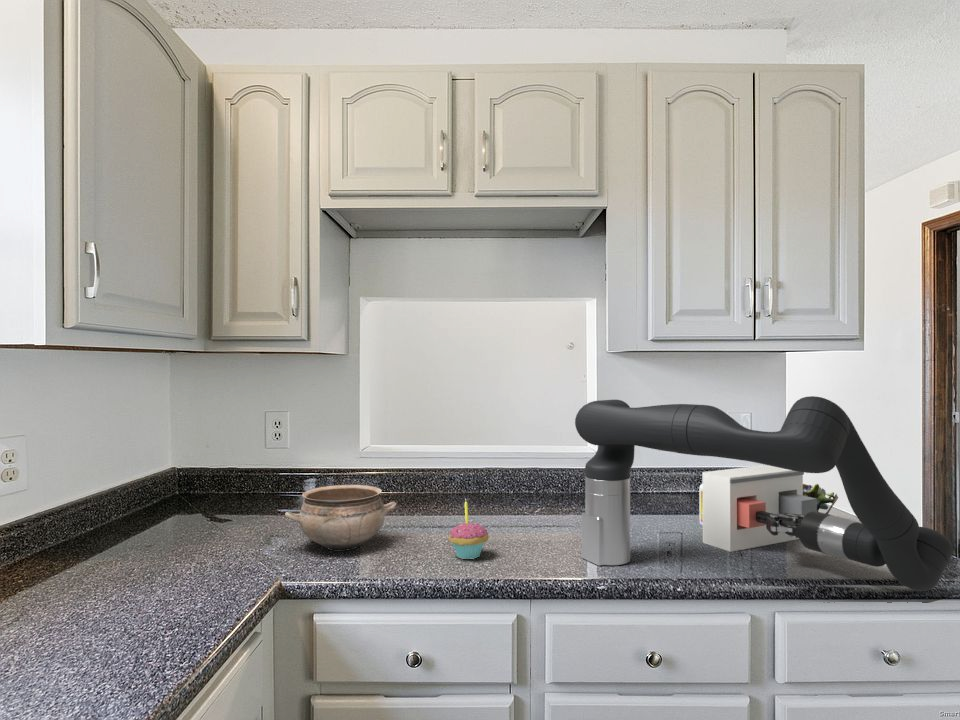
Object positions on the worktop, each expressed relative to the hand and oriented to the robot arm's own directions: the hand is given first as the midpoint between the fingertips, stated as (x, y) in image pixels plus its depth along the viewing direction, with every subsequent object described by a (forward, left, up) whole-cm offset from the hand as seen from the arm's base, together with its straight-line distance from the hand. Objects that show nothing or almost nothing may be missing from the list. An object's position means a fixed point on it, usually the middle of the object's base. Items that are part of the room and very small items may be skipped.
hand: (758, 516), depth 142 cm
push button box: (+6, +7, -8) cm, 12 cm away
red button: (0, +3, -2) cm, 4 cm away
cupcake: (-57, +26, -8) cm, 63 cm away
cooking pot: (-79, +46, -8) cm, 92 cm away
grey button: (+13, 0, -2) cm, 13 cm away
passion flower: (+28, +9, -8) cm, 31 cm away
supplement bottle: (+8, +21, -8) cm, 24 cm away
